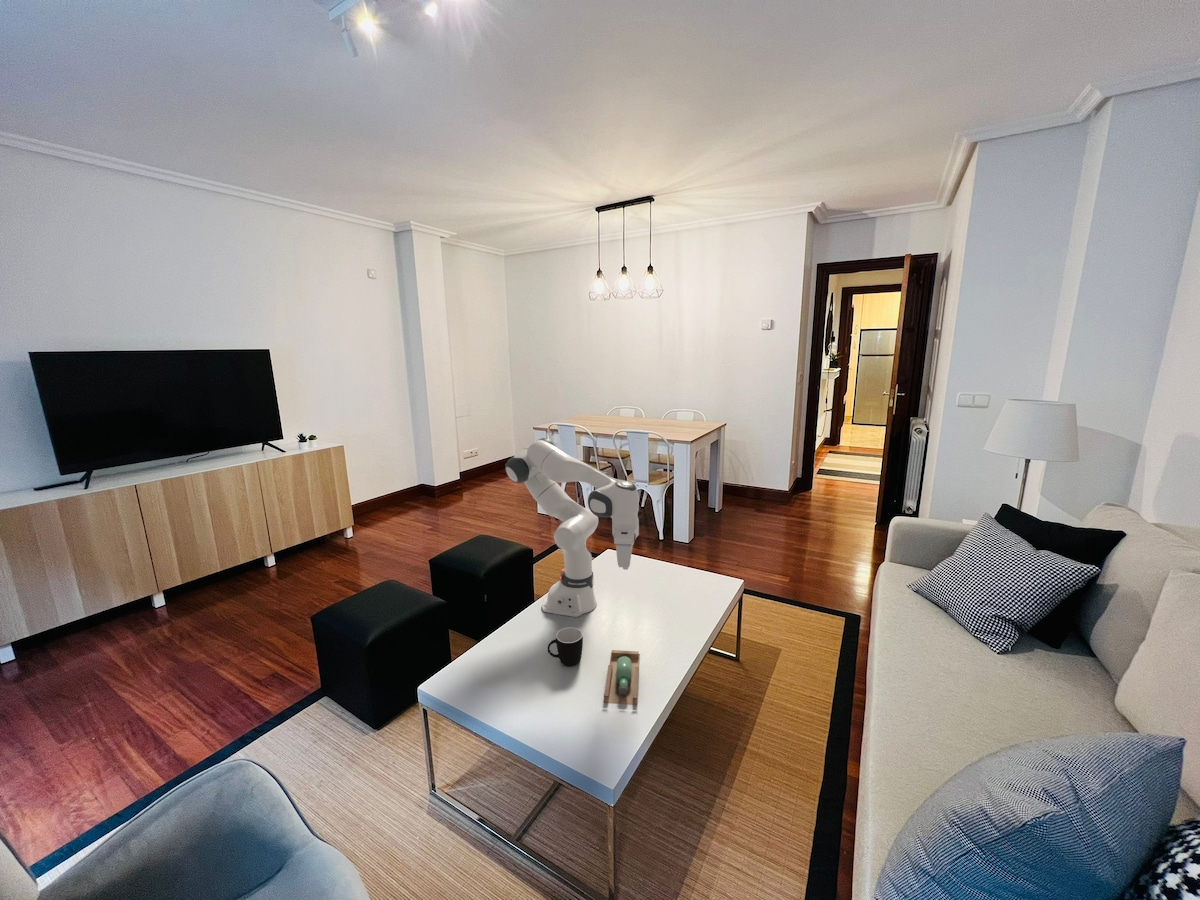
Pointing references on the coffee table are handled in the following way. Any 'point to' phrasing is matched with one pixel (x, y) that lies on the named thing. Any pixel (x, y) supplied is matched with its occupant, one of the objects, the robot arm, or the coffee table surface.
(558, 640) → the mug
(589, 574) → the robot arm
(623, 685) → the bottle
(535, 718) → the coffee table surface
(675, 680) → the coffee table surface
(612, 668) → the rest
